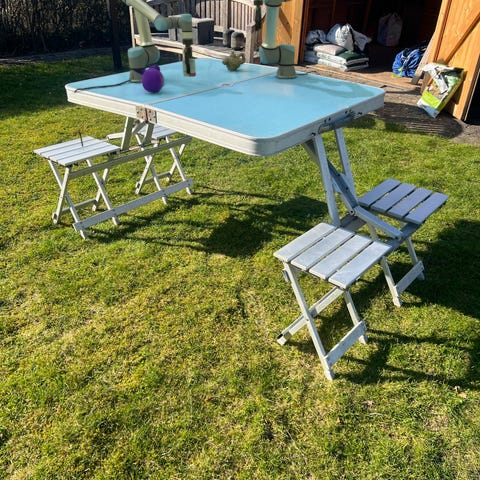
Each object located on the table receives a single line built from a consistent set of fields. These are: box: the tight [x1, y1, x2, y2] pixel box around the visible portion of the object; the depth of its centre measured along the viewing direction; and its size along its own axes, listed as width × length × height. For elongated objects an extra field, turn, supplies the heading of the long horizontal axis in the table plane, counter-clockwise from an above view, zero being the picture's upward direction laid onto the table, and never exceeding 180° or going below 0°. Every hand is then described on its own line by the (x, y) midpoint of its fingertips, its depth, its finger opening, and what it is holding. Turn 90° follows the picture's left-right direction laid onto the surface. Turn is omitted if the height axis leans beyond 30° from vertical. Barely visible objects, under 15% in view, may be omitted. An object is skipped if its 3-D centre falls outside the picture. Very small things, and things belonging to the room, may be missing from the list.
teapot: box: [221, 50, 246, 72], centre depth 367 cm, size 21×12×15 cm, turn 120°
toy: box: [134, 64, 165, 94], centre depth 304 cm, size 16×18×27 cm
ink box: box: [181, 58, 197, 78], centre depth 326 cm, size 9×5×12 cm, turn 79°
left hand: (189, 73), depth 328 cm, fingers closed on ink box, 5 cm apart
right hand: (258, 30), depth 357 cm, fingers open, 13 cm apart
